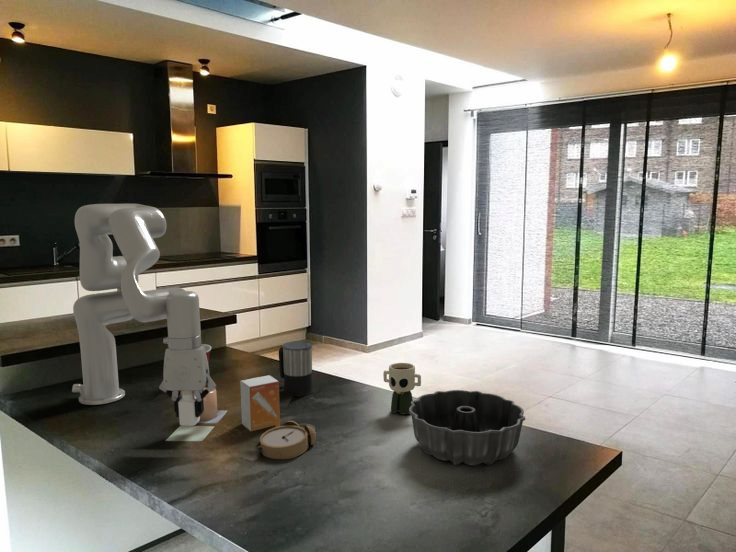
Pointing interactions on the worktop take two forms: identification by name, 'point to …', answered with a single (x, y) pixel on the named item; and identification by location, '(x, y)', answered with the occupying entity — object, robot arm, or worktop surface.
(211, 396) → the peach rounded cylinder
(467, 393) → the bundt pan
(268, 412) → the small box
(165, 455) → the worktop surface
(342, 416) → the worktop surface
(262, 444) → the alarm clock
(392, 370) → the character mug
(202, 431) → the board
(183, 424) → the salt shaker
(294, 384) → the milk frother
